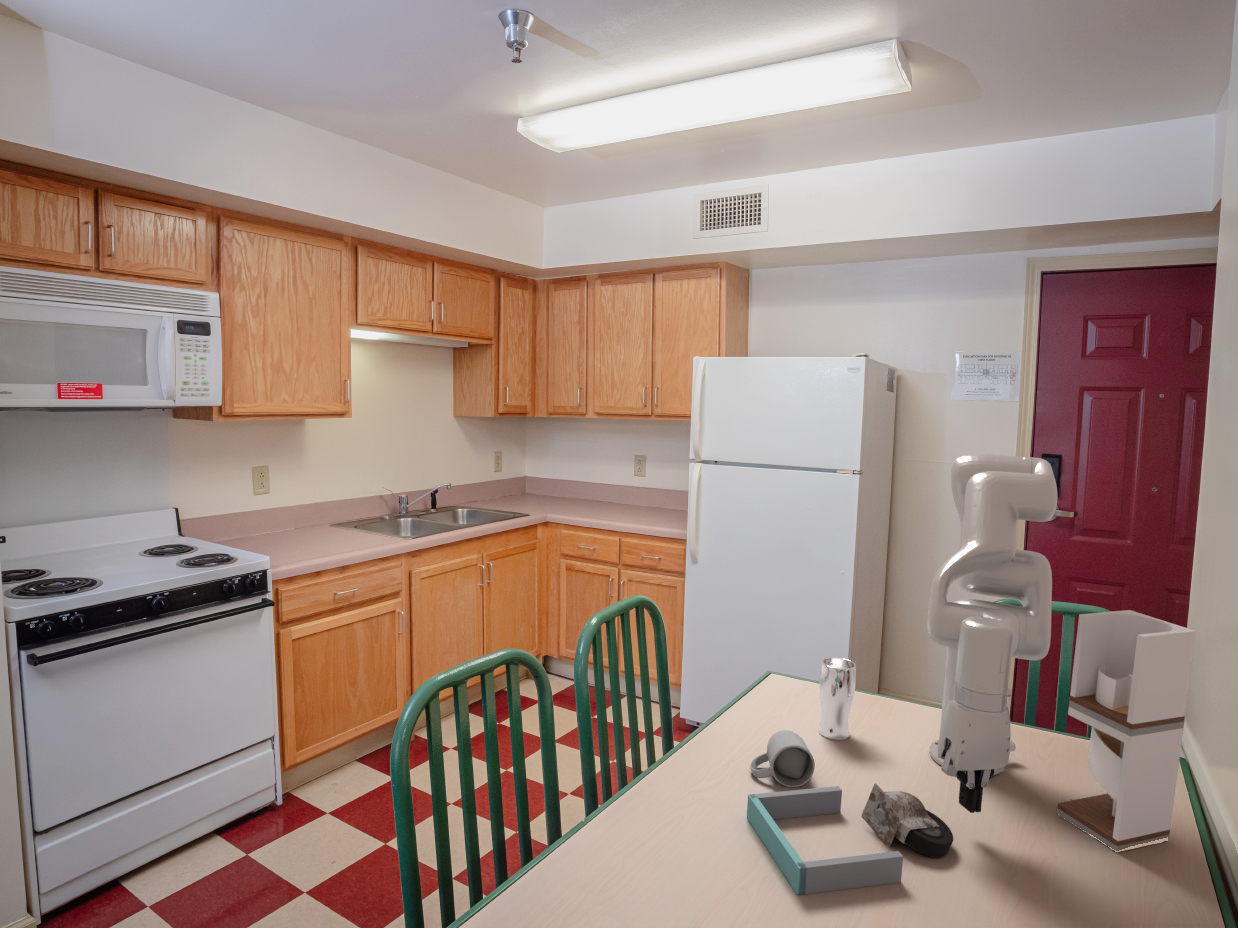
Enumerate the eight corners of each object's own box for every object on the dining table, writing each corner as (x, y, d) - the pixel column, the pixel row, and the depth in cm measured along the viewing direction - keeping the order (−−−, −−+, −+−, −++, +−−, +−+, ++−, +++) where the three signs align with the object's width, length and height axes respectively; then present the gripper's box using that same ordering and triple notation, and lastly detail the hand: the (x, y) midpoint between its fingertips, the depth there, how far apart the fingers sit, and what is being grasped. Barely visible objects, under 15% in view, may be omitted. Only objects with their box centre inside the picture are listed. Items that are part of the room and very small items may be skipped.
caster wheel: (954, 866, 114) (907, 872, 109) (903, 812, 123) (858, 816, 119) (970, 831, 112) (923, 836, 108) (917, 779, 122) (872, 782, 118)
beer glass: (851, 728, 152) (857, 659, 151) (850, 744, 146) (856, 671, 144) (817, 722, 155) (822, 654, 153) (814, 737, 148) (819, 666, 146)
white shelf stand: (1106, 804, 128) (1129, 609, 124) (1168, 841, 118) (1196, 630, 114) (1056, 814, 124) (1079, 614, 120) (1116, 853, 114) (1143, 636, 110)
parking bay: (836, 808, 123) (838, 785, 123) (901, 881, 106) (903, 856, 105) (746, 817, 120) (748, 794, 119) (797, 894, 102) (799, 868, 102)
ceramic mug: (803, 764, 137) (805, 725, 137) (814, 788, 129) (816, 747, 128) (746, 763, 138) (748, 724, 137) (754, 787, 129) (755, 745, 129)
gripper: (1003, 685, 121) (993, 792, 122) (923, 689, 118) (913, 798, 119) (1038, 704, 114) (1027, 817, 115) (954, 708, 110) (943, 824, 112)
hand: (969, 807), depth 117 cm, fingers closed
